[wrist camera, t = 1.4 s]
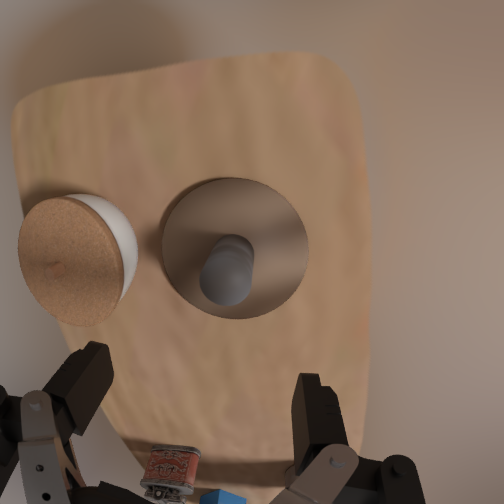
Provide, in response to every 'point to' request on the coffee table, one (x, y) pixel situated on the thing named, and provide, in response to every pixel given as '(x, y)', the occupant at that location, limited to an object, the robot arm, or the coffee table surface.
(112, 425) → the coffee table surface
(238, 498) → the perfume bottle
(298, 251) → the walnut lid
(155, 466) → the lighter
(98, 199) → the lidded jar
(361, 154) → the coffee table surface
